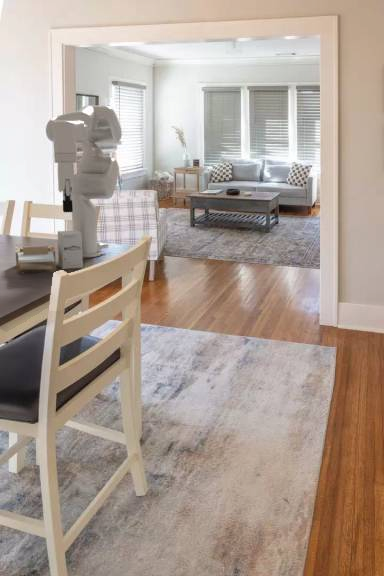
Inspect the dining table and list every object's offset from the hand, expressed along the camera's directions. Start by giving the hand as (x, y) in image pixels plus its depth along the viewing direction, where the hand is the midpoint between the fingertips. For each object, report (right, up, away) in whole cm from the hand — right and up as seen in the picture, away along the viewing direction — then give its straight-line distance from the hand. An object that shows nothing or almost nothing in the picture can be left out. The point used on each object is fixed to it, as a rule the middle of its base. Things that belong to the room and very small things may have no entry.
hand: (67, 211), depth 202 cm
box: (-12, -20, +2) cm, 23 cm away
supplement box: (0, -19, +5) cm, 20 cm away
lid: (-8, -17, -11) cm, 22 cm away
